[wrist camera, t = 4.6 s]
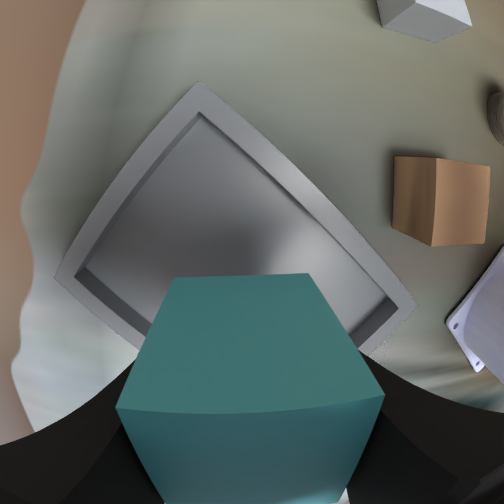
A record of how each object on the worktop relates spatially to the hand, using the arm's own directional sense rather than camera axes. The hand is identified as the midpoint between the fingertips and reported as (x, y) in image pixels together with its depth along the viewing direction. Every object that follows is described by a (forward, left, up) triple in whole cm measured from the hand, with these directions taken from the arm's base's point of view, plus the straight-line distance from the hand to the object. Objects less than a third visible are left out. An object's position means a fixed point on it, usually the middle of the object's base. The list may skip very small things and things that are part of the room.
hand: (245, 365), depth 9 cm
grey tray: (0, 0, -7) cm, 7 cm away
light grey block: (+4, -19, -7) cm, 21 cm away
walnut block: (-4, -11, -7) cm, 14 cm away
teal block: (0, 0, -2) cm, 2 cm away
